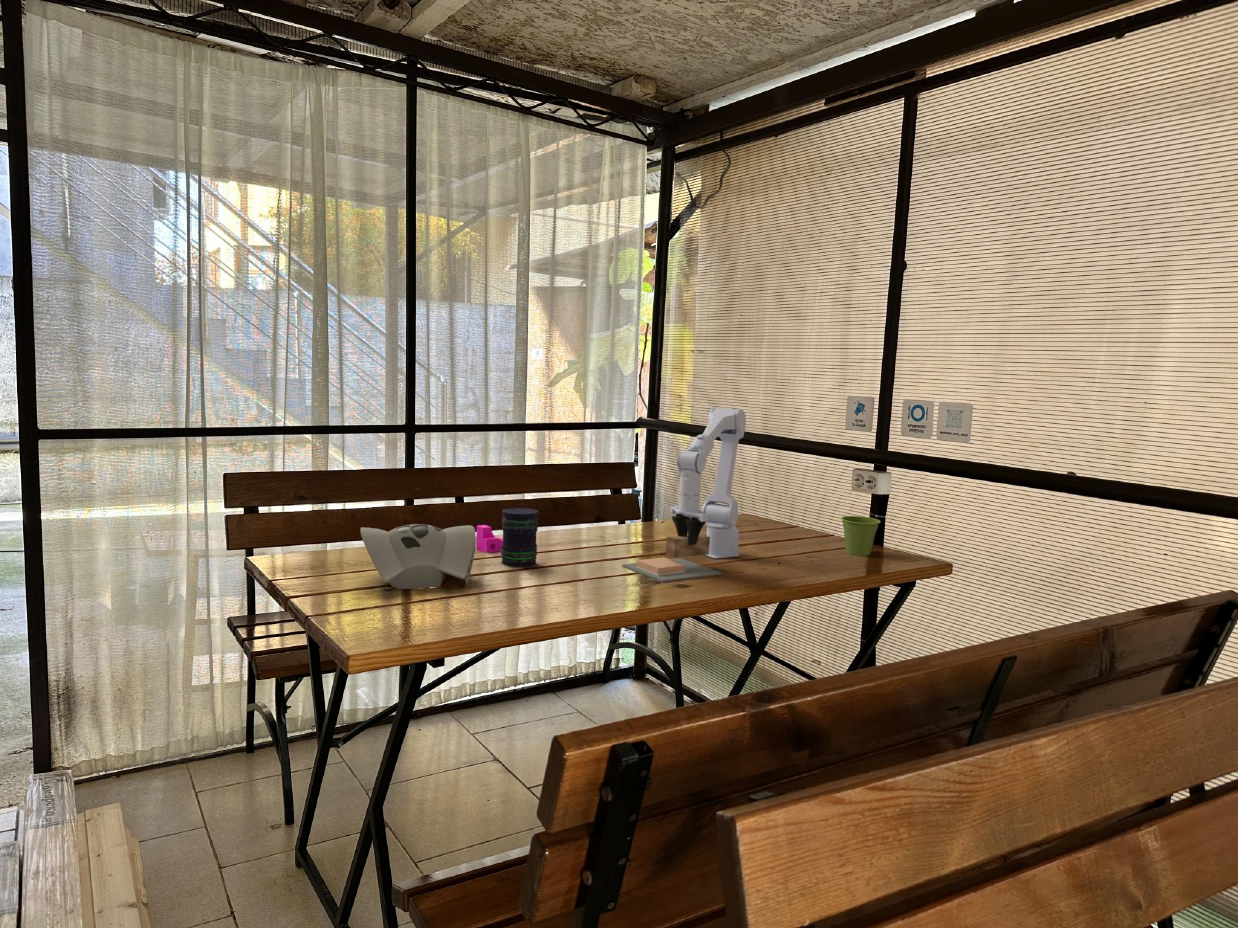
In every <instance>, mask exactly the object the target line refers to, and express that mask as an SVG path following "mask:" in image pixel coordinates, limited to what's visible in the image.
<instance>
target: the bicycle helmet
mask: <svg viewBox="0 0 1238 928" xmlns="http://www.w3.org/2000/svg"><path fill="white" fill-rule="evenodd" d="M359 531H360V536H361V539H362V541H363V545H364V547H365V550H366V551H367V553H368V555H369V558H370V560H371V561H372V564H373V566H374V567H375V569H376V571H377V573H378V574H379V576H380V577H381V579H382V580H383V581H384V582H385V583H386V584H387V583H388V584H389V585H390V586H391V587H393V588H394V587H395V588H394V589H396V588H397V589H396V590H399V589H418V590H420V589H419V588H430V587H440V586H449V587H460V586H464V588H466V587H467V585H468V582H469V579H470V577H471V573H472V569H473V568H472V567H473V563H474V559H475V553H476V539H477V535H476V529H475V527H474V526H473V525H471V524H469V525H458V526H452V527H451V526H450V527H448V528H447V527H446V528H443V529H442V528H440V527H437V526H434V525H430V524H419V523H414V524H406V525H401V526H397V527H395V528H393V529H391V530H389V531H387V530H383V529H380V528H376V527H375V528H372V527H360V530H359ZM440 588H441V587H440Z"/></svg>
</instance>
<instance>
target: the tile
mask: <svg viewBox="0 0 1238 928" xmlns="http://www.w3.org/2000/svg"><path fill="white" fill-rule="evenodd" d="M670 559H671V558H667V557H663V556H662V557H655V558H645V559H637V562H636V563H637V568H640V569H643V570H645V571H648V572H650V573H653V574H655V575H658V576H659V575H667V574H675V573H684V572H685V565H684V564H681V563H678V562H676V561H673V560H670Z"/></svg>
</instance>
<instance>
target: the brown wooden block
mask: <svg viewBox="0 0 1238 928" xmlns="http://www.w3.org/2000/svg"><path fill="white" fill-rule="evenodd" d="M665 541H666V545H665V555H666V556H669V557H671V558H673V559H677V558H685V557H696V556H706V555H709V544H710V537H708V536H707V535H705V534H700V533H699V536H698V539H697V543H696V545H689V542H688V534H687V535H685V536H678V535H675V536H666V540H665Z"/></svg>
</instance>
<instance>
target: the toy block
mask: <svg viewBox="0 0 1238 928" xmlns="http://www.w3.org/2000/svg"><path fill="white" fill-rule="evenodd" d="M502 544H503V537H502V538H499V537H497V536H495V534H494V533H493V530H492V526H488V525H486V524H482V525H476V544H475V550H476V549H477V550H478V552H484V553H488V554H489V553H495V552H496V553H497V552H501V550H502ZM477 550H476V551H477Z"/></svg>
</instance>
